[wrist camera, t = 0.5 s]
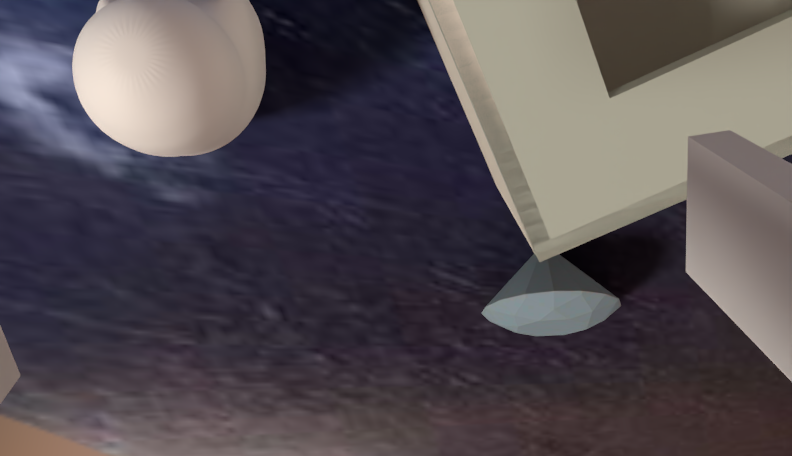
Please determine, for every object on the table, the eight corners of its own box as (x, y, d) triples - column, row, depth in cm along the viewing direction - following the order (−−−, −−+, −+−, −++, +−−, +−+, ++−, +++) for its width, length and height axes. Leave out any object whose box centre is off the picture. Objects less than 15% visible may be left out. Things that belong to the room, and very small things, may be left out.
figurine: (262, -29, 36) (224, -7, 25) (281, 123, 39) (255, 204, 28) (115, -19, 36) (10, 9, 25) (145, 134, 39) (65, 219, 28)
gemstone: (507, 213, 38) (514, 307, 36) (638, 223, 40) (652, 314, 38) (459, 259, 45) (463, 340, 43) (573, 266, 47) (582, 344, 45)
